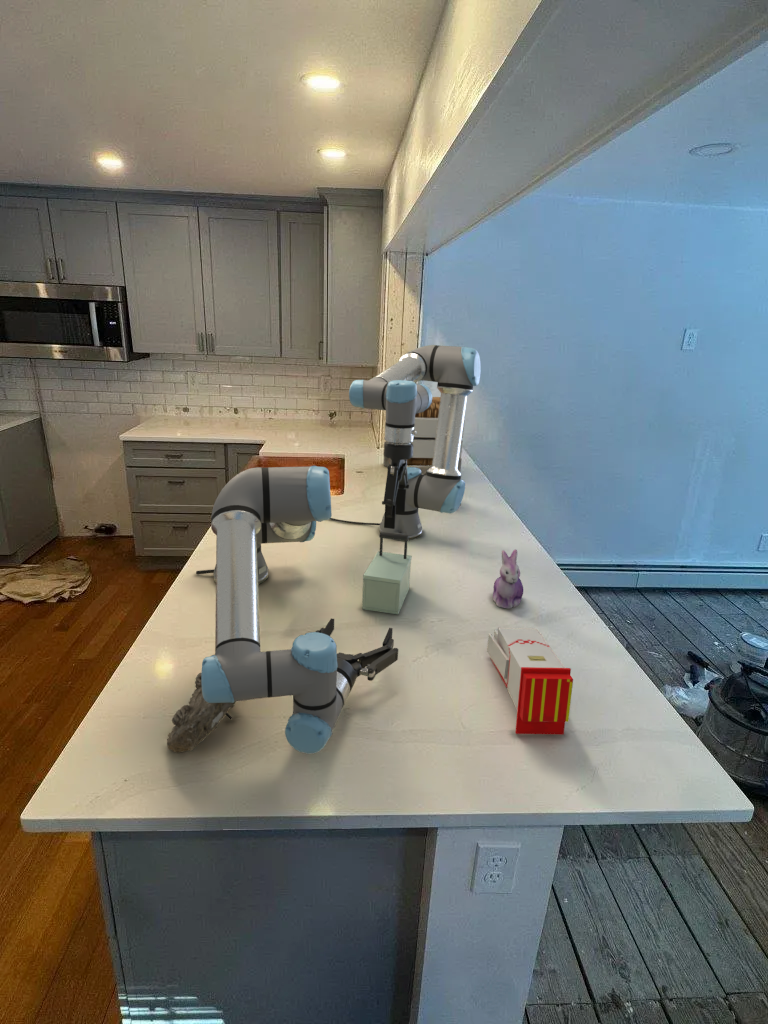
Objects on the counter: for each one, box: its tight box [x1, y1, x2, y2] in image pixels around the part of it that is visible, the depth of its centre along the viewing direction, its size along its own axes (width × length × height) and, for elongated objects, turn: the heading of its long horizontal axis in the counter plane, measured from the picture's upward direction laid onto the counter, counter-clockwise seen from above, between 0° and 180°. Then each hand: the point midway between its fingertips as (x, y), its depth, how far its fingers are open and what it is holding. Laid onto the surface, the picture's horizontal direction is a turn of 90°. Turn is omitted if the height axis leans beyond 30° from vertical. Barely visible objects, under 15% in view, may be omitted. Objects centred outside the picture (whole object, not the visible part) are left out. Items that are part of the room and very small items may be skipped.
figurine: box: [492, 548, 524, 609], centre depth 154 cm, size 9×10×15 cm
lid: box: [362, 532, 413, 584], centre depth 151 cm, size 16×10×8 cm, turn 167°
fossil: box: [166, 672, 238, 754], centre depth 106 cm, size 22×10×15 cm
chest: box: [361, 560, 412, 615], centre depth 154 cm, size 15×10×9 cm, turn 167°
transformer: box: [383, 396, 465, 474], centre depth 268 cm, size 34×33×41 cm
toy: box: [486, 627, 574, 736], centre depth 118 cm, size 12×13×30 cm
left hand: (361, 628), depth 128 cm, fingers open, 13 cm apart
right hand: (394, 519), depth 153 cm, fingers open, 13 cm apart
